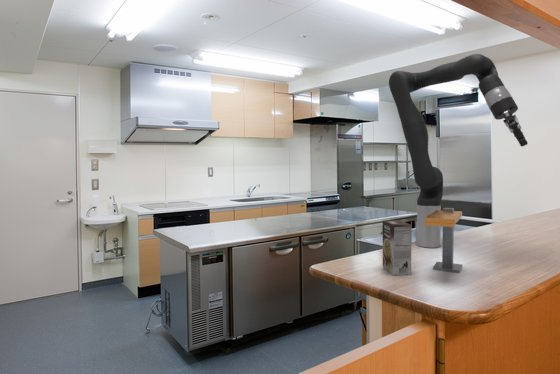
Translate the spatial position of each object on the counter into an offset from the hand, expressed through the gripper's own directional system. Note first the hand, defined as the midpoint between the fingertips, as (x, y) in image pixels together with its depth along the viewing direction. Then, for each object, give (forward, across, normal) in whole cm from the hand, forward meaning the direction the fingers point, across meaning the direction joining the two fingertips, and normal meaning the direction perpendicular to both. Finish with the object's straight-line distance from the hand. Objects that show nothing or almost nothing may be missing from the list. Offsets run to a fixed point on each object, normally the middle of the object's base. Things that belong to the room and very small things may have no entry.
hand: (523, 142), depth 126 cm
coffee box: (+28, +23, -48) cm, 60 cm away
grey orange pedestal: (+33, +17, -36) cm, 51 cm away
